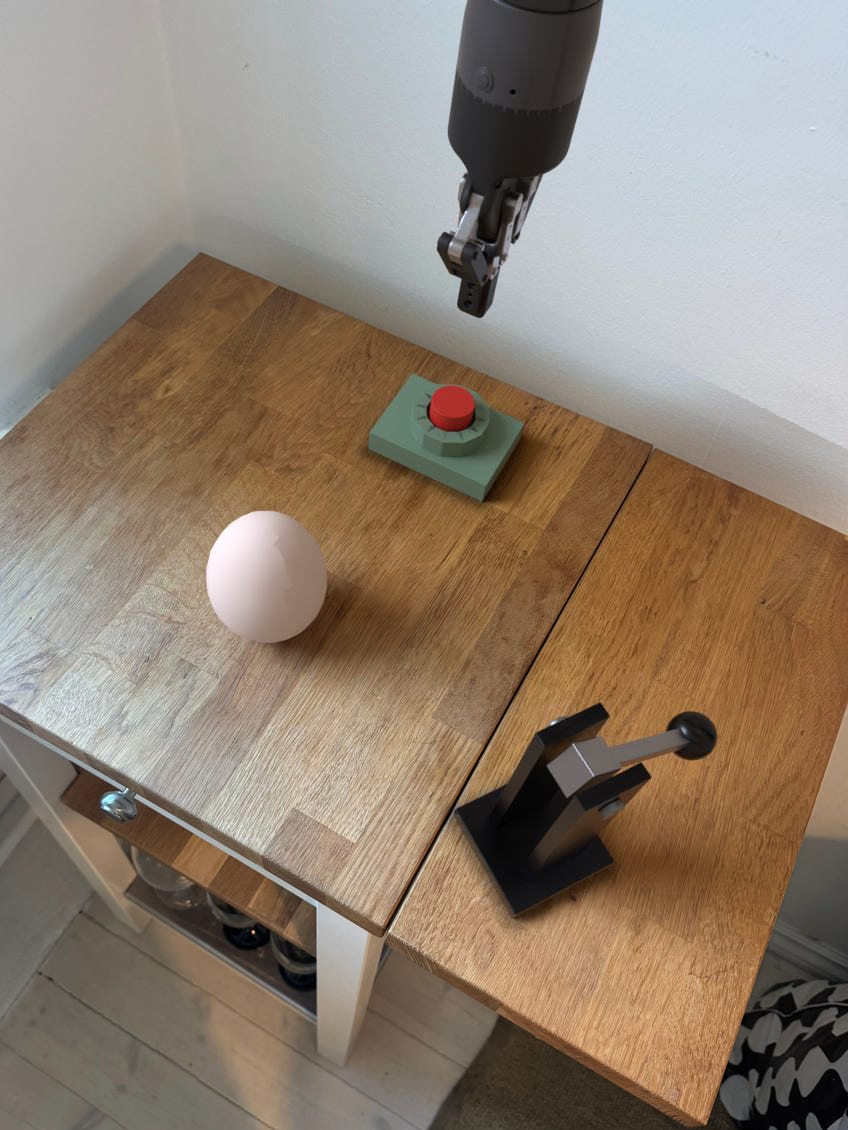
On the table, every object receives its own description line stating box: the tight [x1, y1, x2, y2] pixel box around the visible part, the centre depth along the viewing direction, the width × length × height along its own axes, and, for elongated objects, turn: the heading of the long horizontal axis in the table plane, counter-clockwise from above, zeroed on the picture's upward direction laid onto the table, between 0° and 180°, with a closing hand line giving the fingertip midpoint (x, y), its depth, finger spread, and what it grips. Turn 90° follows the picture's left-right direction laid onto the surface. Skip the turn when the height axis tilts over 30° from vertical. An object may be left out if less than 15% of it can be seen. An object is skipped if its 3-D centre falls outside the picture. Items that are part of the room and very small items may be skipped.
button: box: [429, 384, 475, 432], centre depth 77 cm, size 4×4×2 cm
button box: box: [367, 373, 526, 503], centre depth 79 cm, size 8×11×4 cm
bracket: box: [452, 701, 652, 919], centre depth 57 cm, size 8×8×16 cm
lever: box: [547, 710, 718, 798], centre depth 56 cm, size 15×3×3 cm
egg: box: [205, 510, 328, 644], centre depth 66 cm, size 9×9×11 cm
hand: (473, 308), depth 68 cm, fingers closed
